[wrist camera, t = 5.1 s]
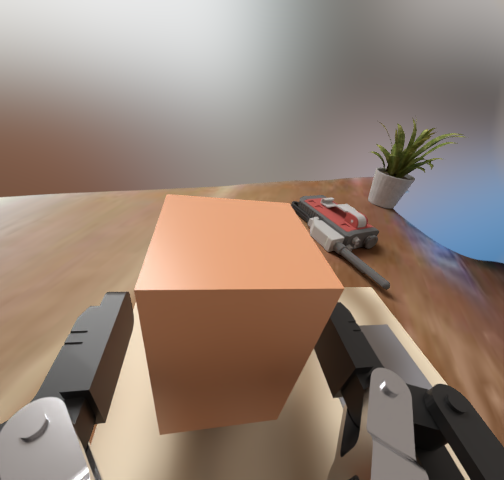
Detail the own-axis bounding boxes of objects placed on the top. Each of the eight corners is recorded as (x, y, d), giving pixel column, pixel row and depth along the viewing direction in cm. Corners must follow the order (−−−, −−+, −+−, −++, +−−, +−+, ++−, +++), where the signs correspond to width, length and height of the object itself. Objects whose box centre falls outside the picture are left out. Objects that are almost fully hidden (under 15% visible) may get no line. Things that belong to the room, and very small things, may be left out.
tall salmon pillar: (159, 435, 10) (134, 290, 5) (173, 327, 15) (167, 194, 10) (276, 419, 11) (344, 288, 7) (257, 324, 16) (289, 203, 11)
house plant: (440, 218, 46) (500, 129, 37) (397, 226, 40) (457, 121, 31) (380, 190, 56) (416, 114, 47) (338, 192, 50) (371, 106, 41)
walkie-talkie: (278, 211, 39) (376, 299, 25) (284, 186, 37) (396, 267, 22) (318, 207, 43) (422, 282, 29) (326, 184, 40) (444, 253, 26)
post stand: (54, 589, 9) (-260, 581, 3) (141, 297, 20) (121, 168, 14) (504, 480, 13) (768, 387, 7) (367, 294, 25) (425, 197, 19)
